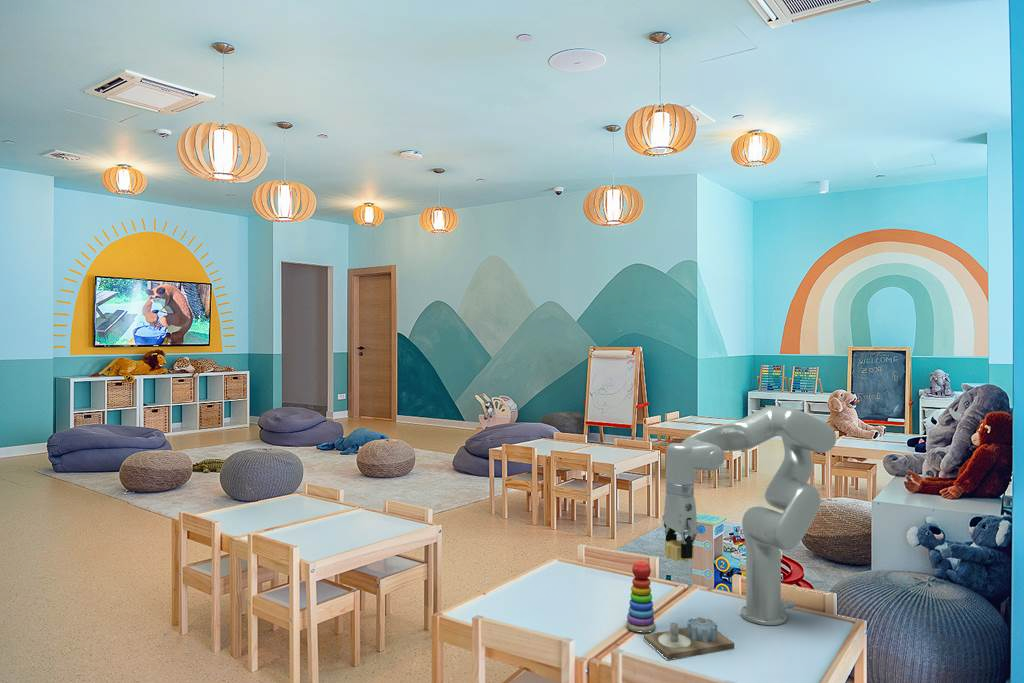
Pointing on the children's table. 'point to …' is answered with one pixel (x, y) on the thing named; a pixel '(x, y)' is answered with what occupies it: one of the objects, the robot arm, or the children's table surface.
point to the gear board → (685, 643)
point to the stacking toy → (641, 600)
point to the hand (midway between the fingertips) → (678, 552)
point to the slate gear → (702, 630)
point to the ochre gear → (675, 550)
